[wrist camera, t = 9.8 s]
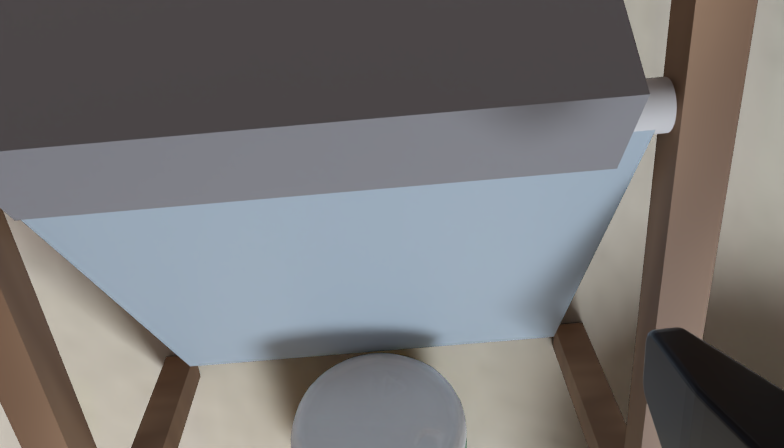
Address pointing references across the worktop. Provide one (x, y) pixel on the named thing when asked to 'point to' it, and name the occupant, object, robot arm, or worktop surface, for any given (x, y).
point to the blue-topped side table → (571, 343)
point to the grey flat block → (325, 162)
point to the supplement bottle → (380, 407)
